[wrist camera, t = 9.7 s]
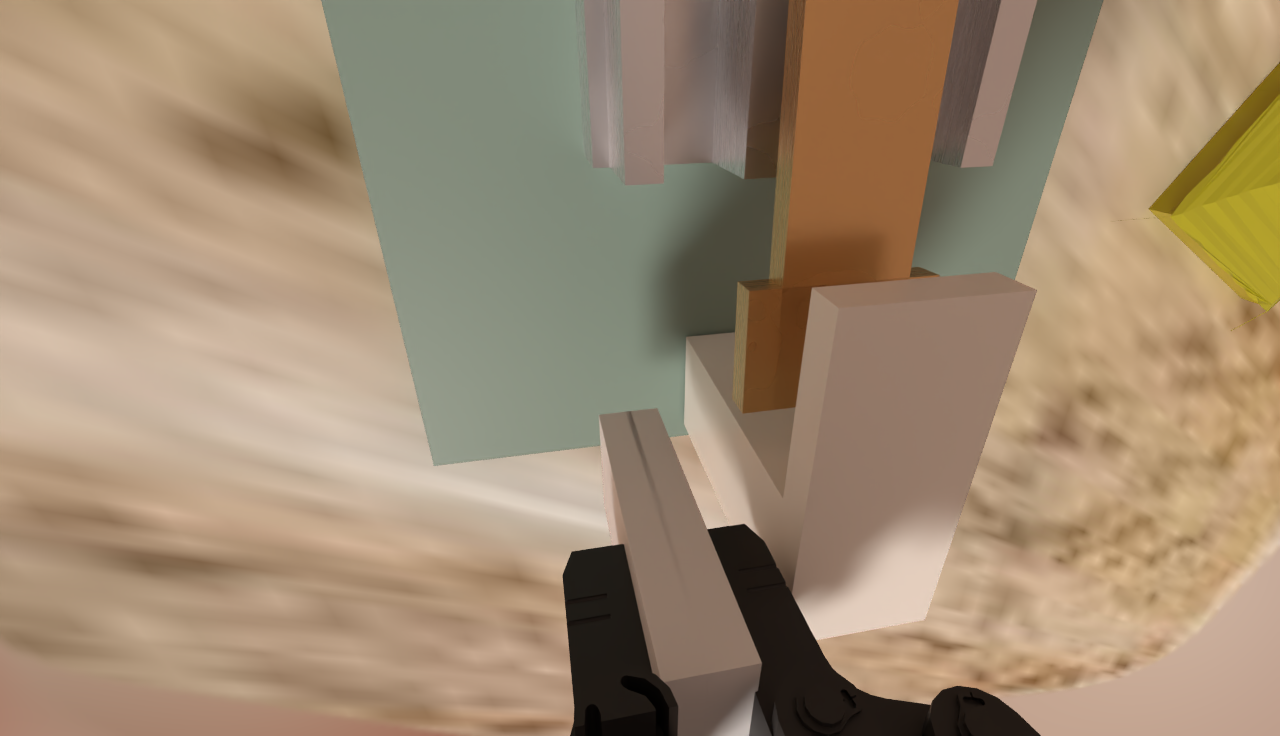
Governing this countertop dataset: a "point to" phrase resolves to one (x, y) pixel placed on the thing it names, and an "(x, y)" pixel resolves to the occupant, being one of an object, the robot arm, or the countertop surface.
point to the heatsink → (756, 83)
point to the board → (600, 218)
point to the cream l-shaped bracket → (863, 440)
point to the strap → (842, 172)
